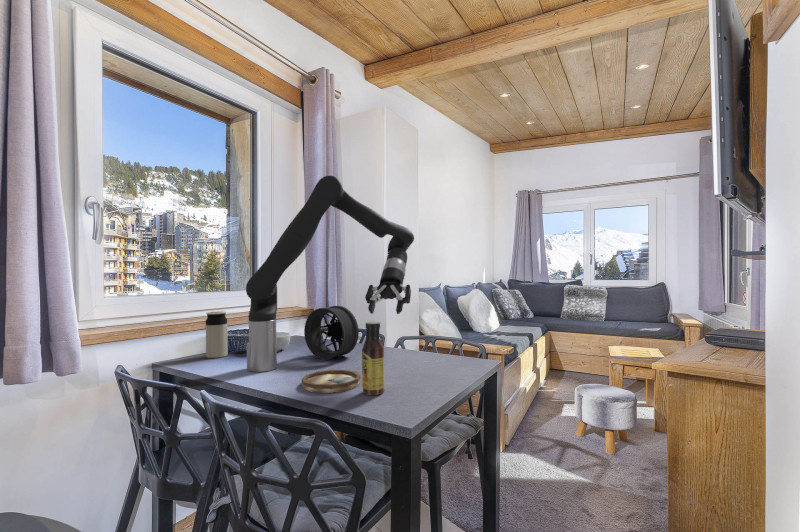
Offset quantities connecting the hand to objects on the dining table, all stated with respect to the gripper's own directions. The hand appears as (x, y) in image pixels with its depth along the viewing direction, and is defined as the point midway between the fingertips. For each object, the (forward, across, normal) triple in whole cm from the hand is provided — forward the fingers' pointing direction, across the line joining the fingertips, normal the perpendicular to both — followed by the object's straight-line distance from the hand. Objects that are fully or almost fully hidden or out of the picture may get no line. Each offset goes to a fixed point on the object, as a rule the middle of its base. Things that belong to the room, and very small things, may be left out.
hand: (384, 312), depth 124 cm
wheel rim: (-4, -30, +35) cm, 46 cm away
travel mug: (0, -78, +30) cm, 84 cm away
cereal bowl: (-10, -62, +40) cm, 75 cm away
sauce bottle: (+23, 0, +7) cm, 24 cm away
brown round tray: (+19, -15, +11) cm, 27 cm away
